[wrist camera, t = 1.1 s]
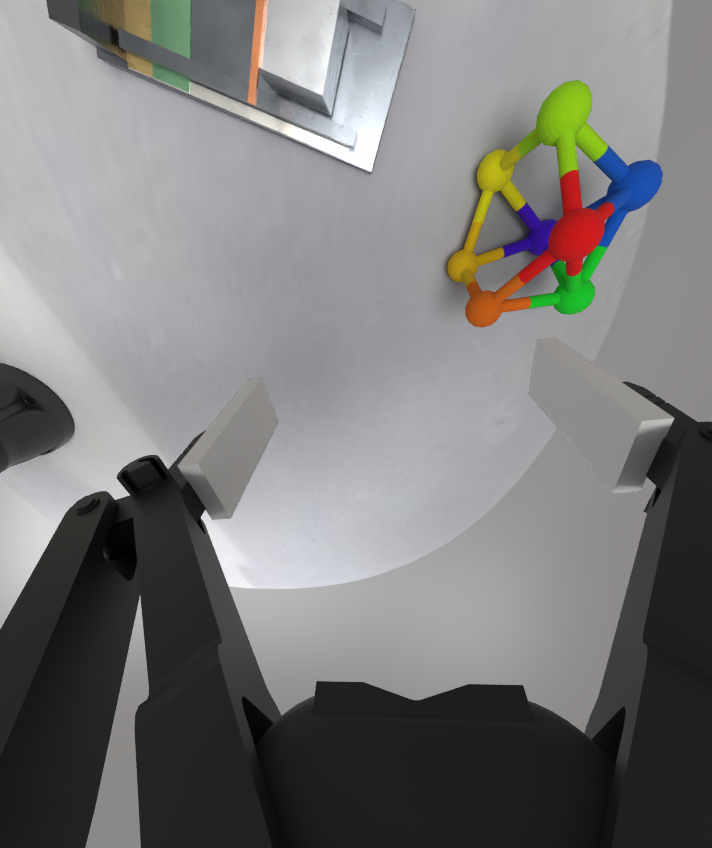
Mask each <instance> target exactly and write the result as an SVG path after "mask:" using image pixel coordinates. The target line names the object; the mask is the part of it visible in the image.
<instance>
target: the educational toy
mask: <svg viewBox="0 0 712 848" xmlns="http://www.w3.org/2000/svg"><path fill="white" fill-rule="evenodd" d="M591 108H592V94H591V92H590V89H589V87H588V85H587V84H585V83H583V82H581V81H579V80H576V81H570V82H565V83H563V84H562V85H560V86H559V87H557V88H556V89H555V90H553V91H552V92H551V93H550V95H549V96H548V97H547V98H546V100H545V101H544V102H543V104H542V106H541V109H540V111H539V114H538V116H537V123H536V128H535V129H534V130H533V131H532V132H531V133H530V134H529V135H528V136H526V137H525V138H524V139H523V140H522V141H521V142H520V143H518V144H517V145H516V146H515V147H514V148H513V149H512V150H511V151H509V152H507V151H505V150H503V149H499V150H494V151H492V152H491V153H489V154H488V155H486V156H485V158H484V159H483V160H482V162H481V163H480V166H479V168H478V171H477V182H478V185H479V187H480V188H481V189H482V190H483V192H482V195H481V198H480V201H479V204H478V207H477V210H476V213H475V216H474V219H473V221H472V224H471V227H470V230H469V233H468V236H467V239H466V242H465V245H464V248H463V250H459V251H458V252H456V253H454V254H453V256H452V257H451V258H450V260H449V262H448V265H447V269H448V274H449V276H450V278H451V279H453V280H454V281H456V282H464V284H465V286H466V288H467V290H468V292H469V294H470V297H471V298H470V299H469V301H468V303H467V305H466V308H465V315H466V318H467V319H468V321H469V323H471V324H472V325H474V326H476V327H486V326H490V325H491V324H493V323H494V322H496V321H497V319H498V318H499V317H500V315H501V313H502V312H509V311H516V310H523V309H530V308H536V307H543V306H550V305H553V306H554V308H555V309H556V310H557V311H559V312H560V313H562V314H569V315H572V314H575V313H579V312H581V311H583V310H584V309H586V308H587V307H588V306H589V305H590V304H591V302H592V300H593V298H594V296H595V287H594V285H593V284H592V282H591V281H590V280H589V279H590V278H591V276H592V274H593V272H594V271H595V269H596V267H597V265H598V264H599V262H600V260H601V258H602V257H603V255H604V253H605V251H606V250H607V248H608V246H609V244H610V243H611V241H612V239H613V237H614V235H615V234H616V232H617V230H618V228H619V227H620V225H621V223H622V221H623V220H624V218H625V216H626V214H627V213H628V212H630V211H633V210H637V209H639V208H641V207H642V206H643V205H645V204H646V203H648V202H649V201H650V200H651V199H652V198H653V196H654V195H655V194H656V193H657V192H658V189H659V187H660V185H661V183H662V176H663V172H662V170H661V167H660V166H659V164H657V163H655V162H653V161H651V160H644V161H637V162H634V163H632V164H631V165H629V166H627V165H626V164H625V163H624V161H623V160H622V159H621V158H620V157H619V156H618V155H617V154H616V153H615V152H614V151H613V150H612V149H611V148H610V147H609V146H608V145H607V144H606V143H605V141H604V140H603V139H602V138H601V137H600V136H599V135H598V134H597V133H596V132H595V131H594V130H593V129H592V128H591V127H590V126H589V125H588V124H587V123H586V121H587V119H588V116H589V113H590V111H591ZM540 143H543V144H545V145H548V146H556V147H557V157H558V166H559V176H560V186H561V195H562V205H563V215H564V216H563V217H562V218H561V219H560V220H559V221H558V222H557V221H555V220H553V219H550V220H543V221H540V220H539V218H538V217H537V216H536V214H535V213H534V212H533V210H532V209H531V208H530V206H529V205H528V203H527V202H526V201H525V199H524V198H523V197H522V195H521V194H520V193H519V191H518V190H517V189H516V187H515V186H514V184H513V183H512V182H511V180H510V179H511V177H512V174H513V170H514V164H515V163H517V162H518V161H519V160H520V159H522V158H523V157H524V156H525V155H527V154H528V153H529V152H530V151H532V150H533V149H534V148H535V147H537V146H538V145H539V144H540ZM576 145H577V146H578V147H579V148H580V149H581V150H582V151H583V152H584V153H585V154H586V155H587V156H588V157H589V158H590V159H591V160H592V161H593V162H594V163H595V164H596V165H597V166H598V167H599V168H600V169H601V170H602V171H603V172H604V173H605V174H606V175H607V176H608V177H609V178H610V179H611V180H612V182H611V184H610V185H609V187H608V191H607V195H606V196H604V197H603V198H601V199H599V200H598V201H596V202H594V203H592V204H591V205H589V206H587V207H586V208H583V209H582V201H581V192H580V182H579V172H578V162H577V152H576ZM497 191H501V193H502V194H503V195H504V197H505V198H506V199H507V201H508V202H509V203H510V204H511V206H512V207H513V208H514V210H515V211H516V212H517V214H518V215H519V216H520V218H521V219H522V220H523V222H524V223H525V224H526V226H527V227H528V228H529V229H530V233H529V235H528V237H527V238H526V239H523V240H521V241H518V242H515V243H512V244H509V245H506V246H503V247H500V248H498V249H495V250H492V251H489V252H486V253H483V254H480V255H478V256H476V255H475V254H474V252H473V250H474V247H475V244H476V242H477V239H478V236H479V233H480V230H481V227H482V225H483V222H484V219H485V216H486V213H487V210H488V208H489V205H490V202H491V199H492V196H493V193H495V192H497ZM607 218H608V219H607ZM606 219H607V221H606V223H605V222H604V221H605V220H606ZM525 250H529V251H530V252H531V253H532V254H534V255H539V256H538V257H537V258H536V259H535V260H534V261H532V262H531V263H530V264H529V265H528V266H526V267H525V268H524V269H523V270H521V271H520V272H519V273H518V274H517V275H515V276H514V277H513V278H512V279H511V280H509V281H508V282H507V283H506V284H505V285H503V286H502V287H501V288H500V289H498V290H497V291H496V292H495V293H494V292H491V291H481V289H480V287H479V285H478V283H477V281H476V279H475V277H474V274H475V273H476V271H477V268H478V266H481V265H484V264H487V263H490V262H493V261H495V260H498V259H501V258H504V257H507V256H510V255H513V254H516V253H519V252H522V251H525ZM587 255H588V256H587ZM585 256H587V258H586V260H585V262H584V264H583V265H582V263H583V258H584V257H585ZM564 261H566V265H565V263H564ZM549 265H550V266H551V268H552V270H553V272H554V274H555V277H556V279H557V281H558V283H559V286H558V287H557V288H556V290H555V291H554V293H549V294H543V295H536V296H529V297H522V298H516V299H509V300H505V299H507V298H508V297H509V296H511V295H512V294H513V293H514V292H516V291H517V290H518V289H520V288H521V287H522V286H524V285H525V284H526V283H527V282H529V281H530V280H531V279H533V278H534V277H535V276H536V275H538V274H539V273H540V272H542V271H543V270H544V269H546V268H547V267H548V266H549Z"/></svg>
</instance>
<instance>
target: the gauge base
mask: <svg viewBox="0 0 712 848" xmlns="http://www.w3.org/2000/svg"><path fill="white" fill-rule="evenodd" d="M46 1H47V7H48V13H49V18H50V19H51V20H53V21H55V22H56V23H58V24H60V25H61V26H63V27H64V28H66V29H68V30H69V31H71V32H72V33H74V34H76V35H77V36H79V37H81V38H82V39H84V40H85V41H87V42H89V43H90V44H92V45H94V46H95V47H97V57H98V58H99V59H101V60H103V61H104V62H106V63H108V64H110V65H113V66H115V67H117V68H120V69H122V70H125V71H127V72H129V73H132V74H134V75H137V76H139V77H141V78H144V79H146V80H148V81H151V82H153V83H156V84H158V85H160V86H163V87H165V88H168V89H170V90H172V91H175V92H177V93H180V94H182V95H184V96H187V97H189V98H192V99H194V100H196V101H199V102H201V103H203V104H206V105H208V106H211V107H213V108H215V109H218V110H220V111H223V112H225V113H227V114H230V115H232V116H235V117H237V118H239V119H242V120H244V121H247V122H249V123H251V124H254V125H256V126H258V127H261V128H263V129H266V130H268V131H270V132H273V133H275V134H278V135H280V136H282V137H285V138H287V139H290V140H292V141H294V142H297V143H299V144H302V145H304V146H306V147H309V148H311V149H313V150H316V151H318V152H321V153H323V154H325V155H328V156H330V157H333V158H335V159H337V160H340V161H342V162H345V163H347V164H349V165H352V166H354V167H357V168H359V169H361V170H364V171H366V172H368V173H372V169H373V165H374V162H375V158H376V154H377V151H378V147H379V144H380V140H381V136H382V133H383V129H384V125H385V122H386V118H387V114H388V111H389V107H390V104H391V100H392V96H393V93H394V89H395V85H396V82H397V78H398V74H399V71H400V67H401V64H402V60H403V56H404V53H405V49H406V45H407V42H408V38H409V34H410V31H411V27H412V24H413V20H414V16H415V11H416V9H415V8H413V7H411V6H409V5H407V4H405V3H403V2H401V1H399V0H346V6H347V14H348V21H349V28H348V33H347V38H346V43H345V48H344V53H343V58H342V63H341V68H340V73H339V78H338V83H337V88H336V93H335V98H334V103H333V108H332V113H331V116H330V115H327V114H325V113H323V112H320V111H318V110H316V109H314V108H311V107H309V106H307V105H304V104H302V103H300V102H298V101H295V100H293V99H291V98H288V97H286V96H284V95H281V94H279V93H277V92H275V91H273V90H272V89H271V87H270V86H269V85H268V83H267V82H266V81H265V80H264V78H263V77H262V76H261V75H260V73H259V83H258V94H257V104H256V106H253V105H251V104H249V103H248V90H249V79H250V67H251V56H252V44H253V32H254V21H255V9H256V0H46Z"/></svg>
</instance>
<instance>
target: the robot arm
mask: <svg viewBox="0 0 712 848" xmlns="http://www.w3.org/2000/svg"><path fill="white" fill-rule="evenodd" d="M528 394H529V395H530V396H531V397H532V399H533V400H534V401H535V402H536V403H537V405H538V406H539V407H540V408H541V409H542V410H543V412H544V413H545V414H546V415H547V416H548V418H549V419H550V420H551V421H552V422H553V423H554V425H555V426H556V427H557V428H558V429H559V430H560V432H561V433H562V434H563V435H564V436H565V438H566V439H567V440H568V441H569V442H570V443H571V445H572V446H573V447H574V448H575V449H576V451H577V452H578V453H579V454H580V455H581V456H582V457H583V459H584V460H585V461H586V462H587V463H588V465H589V466H590V467H591V468H592V469H593V470H594V472H595V473H596V474H597V475H598V476H599V478H600V479H601V480H602V481H603V482H604V483H605V485H606V486H607V487H608V488H609V489H610V491H611V492H612V493H623V492H638V491H640V490H641V488H642V485H643V483H644V481H645V479H646V477H648V478H649V479H650V480H651V481H652V482H653V483H654V484H655V485H656V488H655V490H654V492H653V494H652V496H651V498H650V500H649V502H648V504H647V506H646V508H645V510H644V512H646V513H647V516H646V520H645V523H644V527H643V531H642V535H641V539H640V542H639V546H638V550H637V554H636V557H635V561H634V565H633V569H632V573H631V576H630V580H629V584H628V588H627V591H626V595H625V599H624V603H623V606H622V610H621V614H620V618H619V621H618V626H617V629H616V633H615V637H614V641H613V644H612V648H611V652H610V656H609V659H608V663H607V668H606V670H605V674H604V678H603V682H602V686H601V689H600V693H599V696H598V699H597V701H596V704H595V706H594V708H593V711H592V713H591V715H590V718H589V721H588V724H587V727H586V730H585V733H583V732H581V731H580V730H579V729H578V728H576V727H575V726H573V725H572V724H571V723H570V722H568V721H567V720H565V719H563V718H562V717H560V716H558V715H557V714H555V713H554V712H552V711H550V710H548V709H546V708H544V707H542V706H539V705H537V704H535V703H532V702H529V701H528V700H527V697H526V694H525V690H524V687H523V685H480V684H479V685H478V684H468V685H465V686H462V687H459V688H456V689H453V690H450V691H447V692H444V693H441V694H438V695H434V696H431V697H428V698H425V699H423V700H416V701H415V700H411V699H408V698H405V697H402V696H400V695H397V694H394V693H392V692H389V691H386V690H383V689H381V688H378V687H375V686H372V685H369V684H367V683H364V682H322V681H317V683H316V690H315V696H314V697H311V698H308V699H306V700H305V701H303V702H301V703H299V704H297V705H296V706H294V707H293V708H291V709H290V710H288V711H287V712H286V713H285V714H284V715H282V716H281V714H280V712H279V710H278V707H277V706H276V704H275V702H274V700H273V698H272V697H271V695H270V694H269V691H268V689H267V687H266V684H265V682H264V679H263V677H262V674H261V672H260V669H259V666H258V664H257V661H256V658H255V656H254V653H253V651H252V648H251V645H250V642H249V640H248V637H247V635H246V632H245V629H244V626H243V624H242V621H241V619H240V616H239V613H238V611H237V608H236V606H235V603H234V600H233V597H232V595H231V592H230V589H229V587H228V584H227V582H226V579H225V576H224V574H223V571H222V568H221V566H220V563H219V560H218V558H217V555H216V553H215V550H214V547H213V545H212V542H211V539H210V537H209V534H208V531H207V529H206V526H205V524H204V522H203V521H202V519H201V518H200V517H201V516H202V514H203V512H204V511H205V509H206V511H207V512H208V514H209V515H210V517H211V518H212V520H214V519H229V518H231V517H232V515H233V513H234V511H235V509H236V507H237V505H238V503H239V501H240V499H241V497H242V495H243V492H244V490H245V488H246V486H247V484H248V482H249V480H250V478H251V476H252V474H253V472H254V470H255V468H256V466H257V464H258V462H259V460H260V458H261V456H262V454H263V452H264V450H265V448H266V446H267V444H268V442H269V440H270V438H271V436H272V434H273V432H274V430H275V428H276V426H277V424H278V419H277V417H276V414H275V411H274V409H273V406H272V403H271V401H270V398H269V395H268V393H267V390H266V387H265V385H264V382H263V379H262V378H255V379H248V380H247V381H246V382H245V384H244V385H243V386H242V387H241V389H240V390H239V391H238V392H237V393H236V395H235V396H234V397H233V398H232V400H231V401H230V402H229V403H228V404H227V406H226V407H225V408H224V409H223V411H222V412H221V413H220V414H219V415H218V417H217V418H216V419H215V420H214V422H213V423H212V424H211V425H210V426H209V428H208V429H207V430H206V431H204V432H202V433H201V434H200V435H198V436H197V437H196V438H194V440H193V441H192V442H191V443H190V444H189V446H188V447H187V448H186V449H185V450H184V451H183V454H181V455H180V456H179V457H178V459H177V460H176V461H175V462H174V463H173V465H172V466H171V467H170V468H169V469H167V468H166V466H165V465H164V463H163V462H162V460H161V459H160V458H159V457H158V456H157V455H149V456H144V457H142V458H139V459H137V460H135V461H133V462H131V463H129V464H128V465H127V466H125V467H124V468H123V469H122V470H121V471H120V472H119V473H118V475H117V479H118V480H119V482H120V483H121V484H122V485H123V487H124V488H125V489H126V490H127V491H128V493H129V494H130V496H127V497H124V498H120V499H117V500H115V499H114V498H113V497H112V496H111V495H110V494H109V493H108V492H106V491H101V492H97V493H93V494H91V495H89V496H85V497H84V498H82V499H80V500H79V501H77V502H76V503H75V504H74V505H73V506H72V507H71V508H70V509H69V510H68V511H67V512H66V514H65V515H64V517H63V519H62V521H61V523H60V524H59V526H58V528H57V530H56V532H55V533H54V535H53V537H52V539H51V540H50V542H49V544H48V546H47V548H46V549H45V551H44V553H43V555H42V556H41V558H40V560H39V562H38V564H37V565H36V567H35V569H34V571H33V572H32V574H31V576H30V578H29V580H28V581H27V583H26V585H25V587H24V589H23V590H22V592H21V594H20V596H19V597H18V599H17V601H16V603H15V605H14V606H13V608H12V610H11V612H10V613H9V615H8V617H7V619H6V620H5V622H4V624H3V626H2V628H1V629H0V848H85V846H86V842H87V838H88V834H89V830H90V826H91V821H92V818H93V814H94V810H95V805H96V801H97V796H98V791H99V786H100V781H101V777H102V772H103V767H104V762H105V758H106V753H107V748H108V743H109V739H110V734H111V729H112V724H113V720H114V715H115V711H116V706H117V701H118V696H119V692H120V687H121V682H122V677H123V673H124V668H125V663H126V658H127V654H128V649H129V644H130V639H131V635H132V629H133V625H134V620H135V615H136V611H137V606H138V601H139V596H141V606H142V617H143V628H144V639H145V649H146V660H147V670H148V681H149V696H148V699H147V700H146V701H144V702H143V703H142V704H140V706H138V709H137V712H136V715H135V744H136V762H137V781H138V800H139V819H140V836H141V837H140V838H141V848H712V422H697V421H695V420H694V419H692V418H691V417H689V416H687V415H686V414H684V413H683V412H681V411H680V410H678V409H677V408H675V407H674V406H672V405H670V404H669V403H665V401H664V400H662V399H661V398H659V397H656V396H655V394H653V393H652V392H650V391H649V390H647V389H645V388H644V387H641V386H638V385H635V384H632V383H629V382H621V381H619V380H618V379H616V378H615V377H613V376H612V375H610V374H609V373H607V372H606V371H604V370H603V369H601V368H600V367H598V366H597V365H595V364H594V363H593V362H591V361H590V360H588V359H587V358H585V357H584V356H582V355H581V354H579V353H578V352H576V351H575V350H573V349H572V348H570V347H569V346H567V345H566V344H564V343H563V342H562V341H560V340H559V339H557V338H556V337H552V338H544V339H537V340H536V346H535V353H534V359H533V366H532V372H531V379H530V385H529V392H528ZM73 432H74V425H73V421H72V418H71V415H70V413H69V411H68V410H67V408H66V407H65V405H64V404H63V403H62V401H61V400H60V399H59V398H58V397H57V396H56V395H55V394H54V393H53V392H52V391H51V390H50V389H49V388H48V387H46V386H45V385H44V384H42V383H41V382H40V381H38V380H37V379H35V378H33V377H32V376H30V375H28V374H26V373H24V372H22V371H20V370H18V369H16V368H13V367H10V366H7V365H4V364H0V473H1V472H2V471H4V470H5V469H7V468H9V467H11V466H14V465H17V464H19V463H22V462H25V461H28V460H30V459H33V458H35V457H37V456H39V455H45V454H48V453H51V452H53V451H55V450H57V449H58V448H60V447H61V446H62V445H64V444H65V443H66V442H68V441H69V440H70V439H71V437H72V435H73Z"/></svg>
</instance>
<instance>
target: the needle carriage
mask: <svg viewBox="0 0 712 848" xmlns="http://www.w3.org/2000/svg"><path fill="white" fill-rule="evenodd" d="M348 28H349V21H348V14H347V6H346V0H256V9H255V21H254V32H253V44H252V56H251V67H250V79H249V90H248V103H249V104H251V105H253V106H256V104H257V94H258V83H259V73H260V75H261V76H262V77H263V78H264V80H265V81H266V82H267V83H268V85H269V86H270V87H271V89H272V90H273V91H275V92H277V93H279V94H281V95H284V96H286V97H288V98H291V99H293V100H295V101H298V102H300V103H302V104H304V105H307V106H309V107H311V108H314V109H316V110H318V111H320V112H323V113H325V114H327V115H330V116H331V113H332V108H333V103H334V98H335V93H336V88H337V83H338V78H339V73H340V68H341V63H342V58H343V53H344V48H345V43H346V38H347V33H348Z"/></svg>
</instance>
